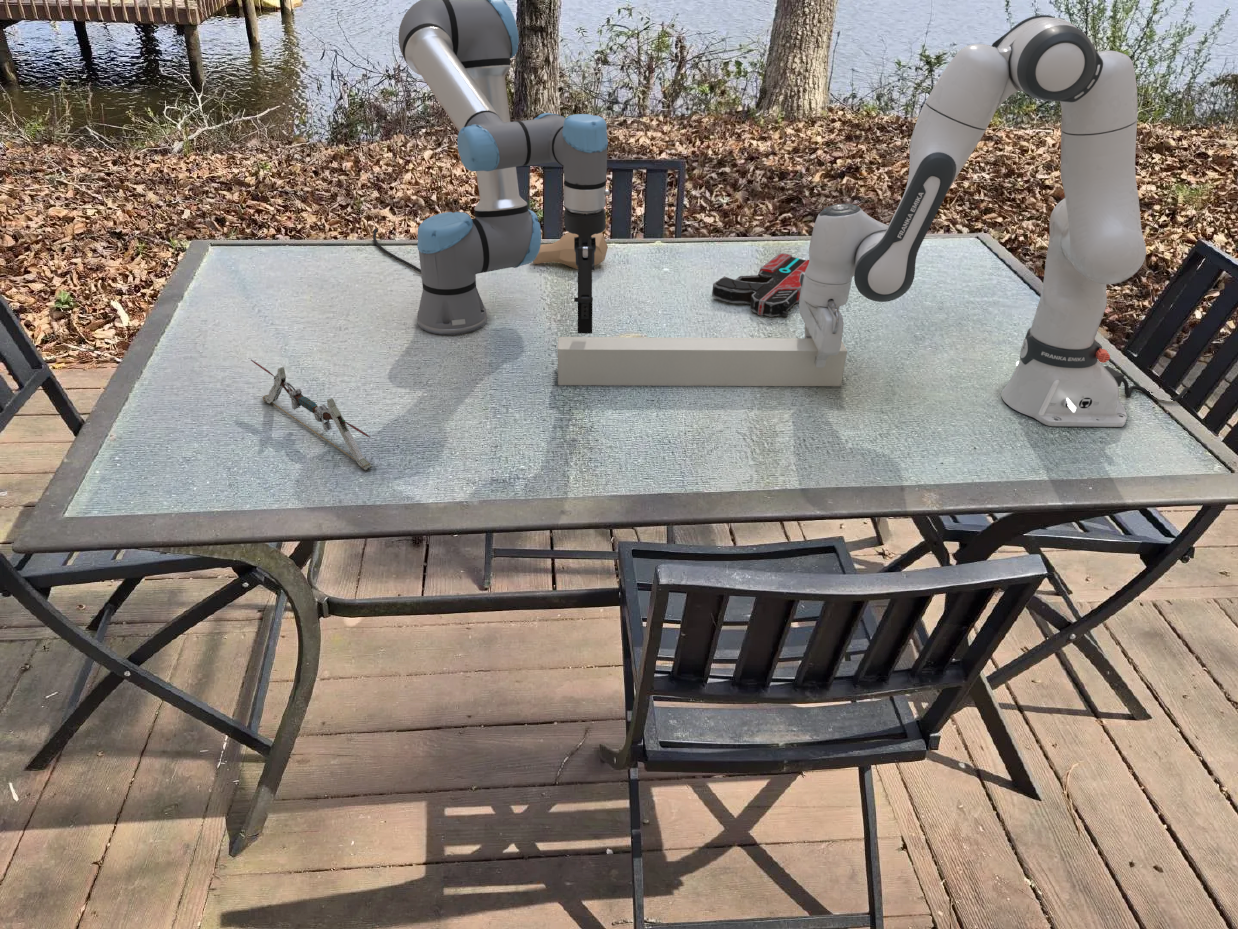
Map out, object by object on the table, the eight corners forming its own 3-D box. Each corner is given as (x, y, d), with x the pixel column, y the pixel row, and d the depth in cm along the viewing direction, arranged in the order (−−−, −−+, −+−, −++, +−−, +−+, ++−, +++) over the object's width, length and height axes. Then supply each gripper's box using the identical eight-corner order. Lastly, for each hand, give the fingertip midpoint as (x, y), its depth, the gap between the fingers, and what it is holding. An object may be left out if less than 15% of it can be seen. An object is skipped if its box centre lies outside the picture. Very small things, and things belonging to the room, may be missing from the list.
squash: (609, 272, 224) (605, 241, 218) (532, 279, 226) (525, 248, 219) (610, 251, 232) (605, 220, 226) (535, 258, 233) (529, 227, 227)
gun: (708, 284, 207) (784, 305, 199) (760, 245, 229) (831, 262, 221) (706, 302, 209) (781, 323, 201) (758, 261, 231) (828, 278, 223)
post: (558, 385, 174) (557, 349, 169) (558, 372, 178) (558, 336, 174) (840, 386, 176) (847, 350, 172) (834, 373, 181) (840, 338, 176)
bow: (382, 473, 146) (374, 421, 141) (372, 477, 145) (364, 425, 140) (264, 393, 168) (253, 345, 162) (255, 396, 167) (243, 348, 161)
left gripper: (607, 231, 147) (605, 346, 159) (604, 187, 167) (602, 292, 179) (563, 230, 146) (564, 346, 158) (565, 187, 167) (566, 291, 179)
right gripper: (856, 313, 159) (842, 380, 167) (829, 270, 176) (817, 333, 184) (822, 312, 159) (809, 379, 166) (798, 269, 176) (788, 332, 183)
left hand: (584, 317), depth 169 cm, fingers open, 13 cm apart
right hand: (813, 355), depth 175 cm, fingers open, 8 cm apart
